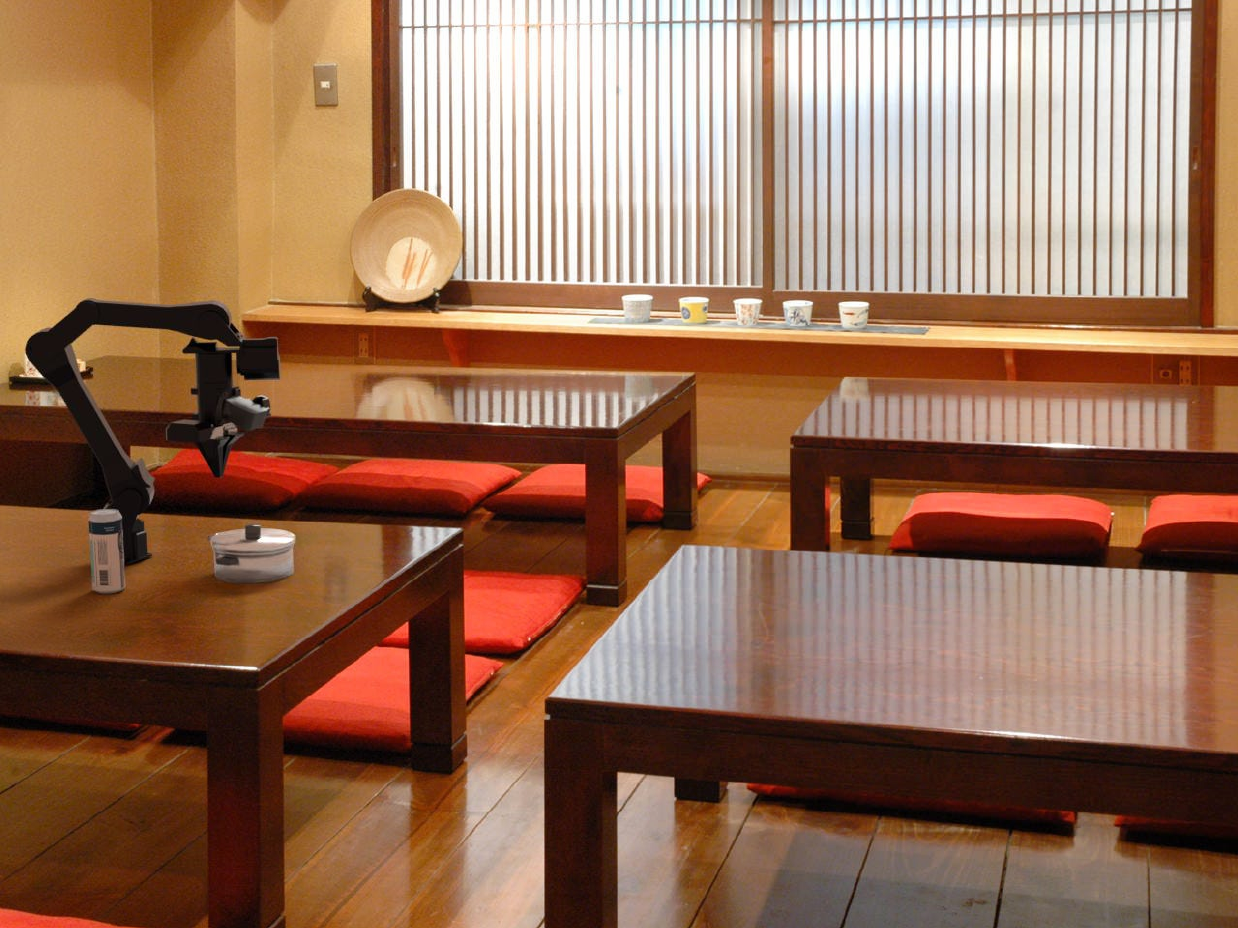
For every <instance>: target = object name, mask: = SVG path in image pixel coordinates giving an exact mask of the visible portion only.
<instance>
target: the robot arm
mask: <svg viewBox="0 0 1238 928" xmlns="http://www.w3.org/2000/svg"><path fill="white" fill-rule="evenodd" d="M92 326H107V327H108V326H109V327H125V328H139V329H140V328H141V329H155V330H166V331H167V330H169V331H172V332H177V333H180V334H183V335H186V336H189V337H191V339H189V342H188V344H186V345H185V346H184V347H183V348H182V350H181V353H182V354H185V355H186V354H187V355H188V354H189V355H190V354H193V355H194V359H195V362H194V363H195V386H194V387H190V395H192V396H193V395H196V408H197V410H196V412H193V413H191V419H180V420H176V421H172V422H170V423H169V424H168V425H167V426H166V427H165V437H166V441H168V442H169V441H170V442H180V443H182V442H183V443H193V444H194V445H195V446H196V448H197V449H198V450H199V452H200V454H201V456H202V457H203V459H204V460H205V462H206V464H207V466H208V468H209V471H211V473H212V475H213V477H214V478H217V479H221V478H223V477H224V475H225V471H226V467H227V465H228V460H229V456H230V453H231V450H232V447H233V445H234V443H235V442H236V441H238V440H239V438H241V437H243V436H244V435H245V432H244V431H246V432H252V431H253V430H256V429H262V428H263V427H264V426H265V425H266V424H265V420H266V419H267V418H270V417H271V416H272V413H271V403H270V398H269V397H267V396H266V395H264V394H262V395H257V396H255V397H254V398H253V399H252V398H245V397H242V393H241V392H242V390H241V388H240V386H238V385H234V371H233V354H235V358H236V359H235V362H236V364H235V365H236V375H240V376H242V377H243V381H280V380H281V357H280V356H281V355H279V344H278V339H279V338H278V337H277V336H269V337H264V338H261V337H260V338H245V336H244V335H243V334H242V331H239V329H238V328H237V327H236V326H235V324H234V323H233V322H232V314H231V312H230V309H229V308H228V307H227V305H225V304H224V303H223V302H221V301H219V300H203V301H194V302H185V303H178V304H159V303H145V302H144V303H143V302H133V301H132V302H131V301H116V300H105V299H104V300H102V299H97V298H95V297H94V298H93V297H89V298H85V299H83V300H81V301H80V302H78V303H77V305H75V308H74V309H72V310H71V311H70V312H69V313H68V314H66V316H64V317H63V318H62V319H60V320H59V321H58V322H57V323H55V325H54V326H52V327H45V328H41V329H40V330H39V331H37V332H35V333H33V334H32V335H31V336H29V338H28V339H27V342H26V344H25V348H24V352H25V356H26V358H27V360H28V361H29V362H30V364H31V365H32V366H33V367H34V368H35V370H36V371H37V372H38V373H39V375H41V377H42V378H44V379H45V381H47V382H48V383H49V384H50V385H51V386H52V387H54V389H55V390H56V391H57V393H58V394H59V396H60V398H61V399H62V401H63V403H64V404H65V406H66V408H67V410H68V412H69V413H70V414H71V416H72V417H71V418H73V420H74V422H75V423H76V425H77V427H78V429H79V430H80V433H82V435H83V438H84V439H85V440H86V443H87V444H88V446H89V448H90V450H91V451H92V452H93V454H94V456H95V457H96V460H97V461H98V463H99V465H100V466H101V468H102V473H103V475H104V481H105V484H106V488H107V491H108V494H109V496H110V498H111V499H110V500H109V501H108V502H107V503H106V504H105V505H104V507H103V509H115V510H118V511H119V513H120V515H121V516H122V532H123V552H124V566H125V565H131V564H134V563H136V562H138V561H142V560H145V559H148V558H150V557H153V553H152V552H148V538H147V537H148V536H147V535H148V533H147V531H146V530H145V521H144V520H141V519H140V518H139V517H140V515H141V514H143V513H144V512H145V511H147V509H148V507H150V504H151V502H152V500H153V498H154V494H155V486H154V481H155V479H156V478H155V477H154V476H152V475H151V474H150V472H149V471H148V469H147V468H148V467H147V466H146V463H145V460H144V459H143V458H139V459H138V460H137V461H134V460H133V459H132V458H131V457H130V456H129V455H127V453H126V452H125V451H124V449H123V447H122V445H121V444H120V442H119V440H118V439H117V437H116V435H115V433H114V431H113V430H112V428H111V426H110V425H109V423H108V421H107V420H106V418H105V415H104V414H103V412H102V411H101V409H100V407H99V405H98V404H97V402H96V400H95V398H94V397H93V395H92V393H91V392H90V390H89V388H88V387H87V385H86V382H85V381H84V379H83V378H82V375H81V372H80V368H79V364H78V361H77V357H76V353H75V351H74V348H73V345H72V344H73V343H74V342H76V340H78V338H80V337H81V336H83V334H85V332H87V331H89V330H90V328H91V327H92ZM196 338H199V339H202V340H208V341H198V340H197V339H196ZM215 340H217V341H218V342H220V343H221V344H223V345H224V346H226V347H220V346H219V345H218V342H217V341H215ZM238 427H239V428H240V429H241V430H242V431H243V432H242V431H238Z"/></svg>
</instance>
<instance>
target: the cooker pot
mask: <svg viewBox="0 0 1238 928" xmlns="http://www.w3.org/2000/svg"><path fill="white" fill-rule="evenodd" d="M294 547H295V543H294V544H293V545H292V546H290V547H287V548H284V549H280V550H275V551H269V552H258V553H235V552H226V551H221V550H217V549H215V548H213V547H212V546H211V549H212V551H213V563H214V564H213V565H214V566H213V567H214V570H213V571H214V577H215V578H216V579H218V580H220V581H223V582H228V583H236V584H259V583H260V584H261V583H269V582H275V581H278V580H279V581H280V580H283V579H285V578H289V577H290V576H292V575H293V574H294V572H295V571H294V568H295V567H294V566H295V565H294Z"/></svg>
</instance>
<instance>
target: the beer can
mask: <svg viewBox="0 0 1238 928" xmlns="http://www.w3.org/2000/svg"><path fill="white" fill-rule="evenodd" d="M87 520H88V522H87V523H88V537H89V538H88V539H89V554H90V555H89V556H90V571H91V590H93V591H95V592H96V593H98V594H103V595H107V594H108V595H109V594H116V593H119V592H121V591H122V590H124V589H125V588H126V576H125V575H126V574H125V573H126V572H125V571H126V570H125V564H124V552H123V532H122V516H121V515H120V513H119V511H118V510H115V509H104V508H103V509H96V510H92V511H91V513H90V515H89V516H88V519H87Z"/></svg>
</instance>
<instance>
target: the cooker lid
mask: <svg viewBox="0 0 1238 928" xmlns="http://www.w3.org/2000/svg"><path fill="white" fill-rule="evenodd" d="M206 538H207V540H208V541H209V542H210V546H211V548H212V547H213V548H215V549H217V550H221V551H226V552H235V553H258V552H269V551H275V550H280V549H284V548H287V547H290V546H292V545H293V544H294V545H295V543H296V535H295V534H294V533H293V532H291V531H288V530H284V529H281V528H280V529H278V528H269V527H266V528H265V527H262V525H261V523H256V522H255V523H254V522H253V523H246V524H245V525H244V528H239V529H231V530H227V531H219V532H216V533H213V534H210V535H208V536H207V537H206Z"/></svg>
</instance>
